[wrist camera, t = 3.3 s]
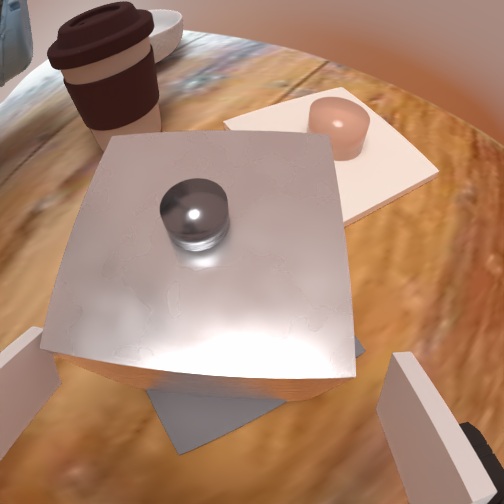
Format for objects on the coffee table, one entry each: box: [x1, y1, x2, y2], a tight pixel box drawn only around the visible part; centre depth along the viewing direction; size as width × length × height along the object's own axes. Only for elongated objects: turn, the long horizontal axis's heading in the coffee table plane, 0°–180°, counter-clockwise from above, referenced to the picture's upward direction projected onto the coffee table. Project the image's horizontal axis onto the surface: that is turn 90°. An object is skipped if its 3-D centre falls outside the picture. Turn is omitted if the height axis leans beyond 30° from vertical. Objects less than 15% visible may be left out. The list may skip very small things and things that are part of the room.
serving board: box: [223, 87, 439, 227], centre depth 30 cm, size 16×16×1 cm
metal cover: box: [40, 130, 356, 401], centre depth 16 cm, size 11×11×12 cm
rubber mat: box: [146, 335, 365, 455], centre depth 22 cm, size 14×14×1 cm
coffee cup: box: [47, 2, 162, 152], centre depth 26 cm, size 10×10×15 cm
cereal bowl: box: [147, 10, 183, 63], centre depth 39 cm, size 17×17×7 cm
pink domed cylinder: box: [307, 97, 370, 161], centre depth 28 cm, size 6×6×4 cm
